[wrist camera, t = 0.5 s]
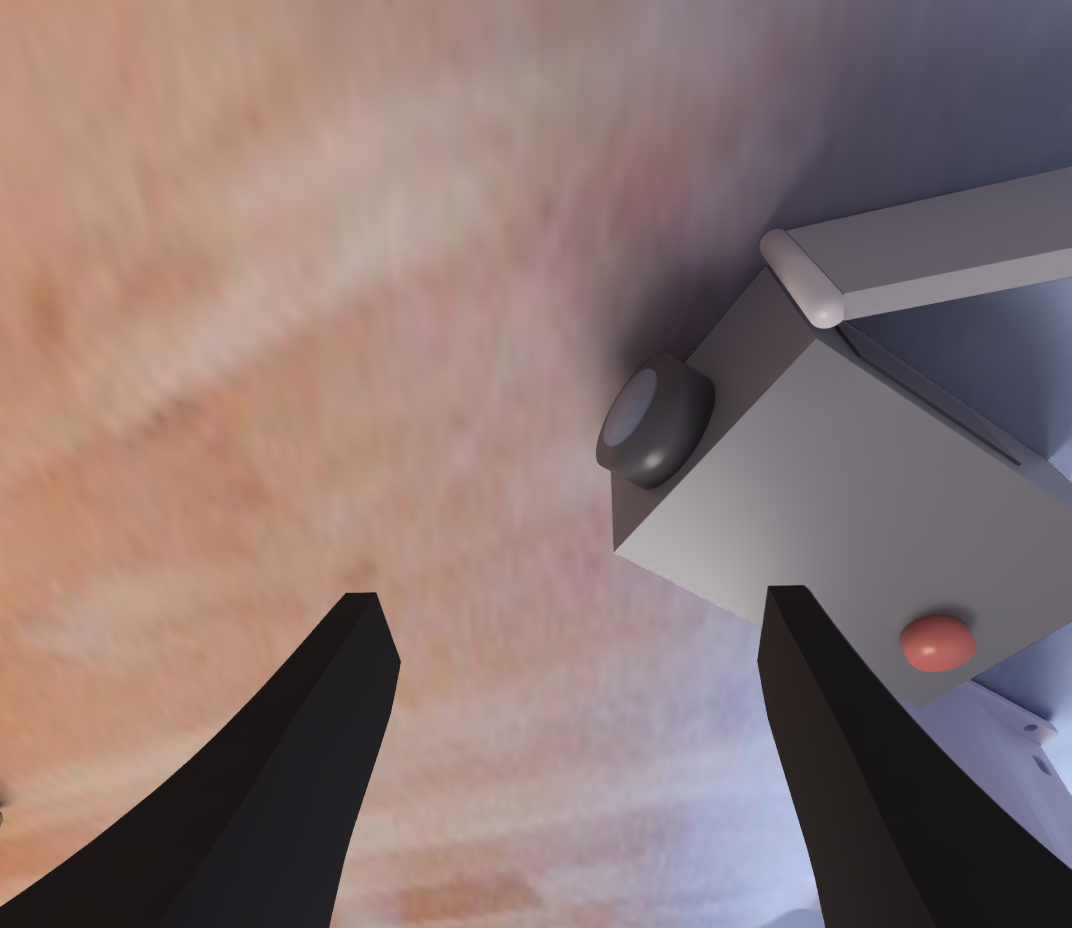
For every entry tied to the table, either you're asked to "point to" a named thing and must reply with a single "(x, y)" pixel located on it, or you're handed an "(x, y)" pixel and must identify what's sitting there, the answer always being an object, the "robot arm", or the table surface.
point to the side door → (928, 249)
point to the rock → (1, 818)
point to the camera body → (839, 494)
